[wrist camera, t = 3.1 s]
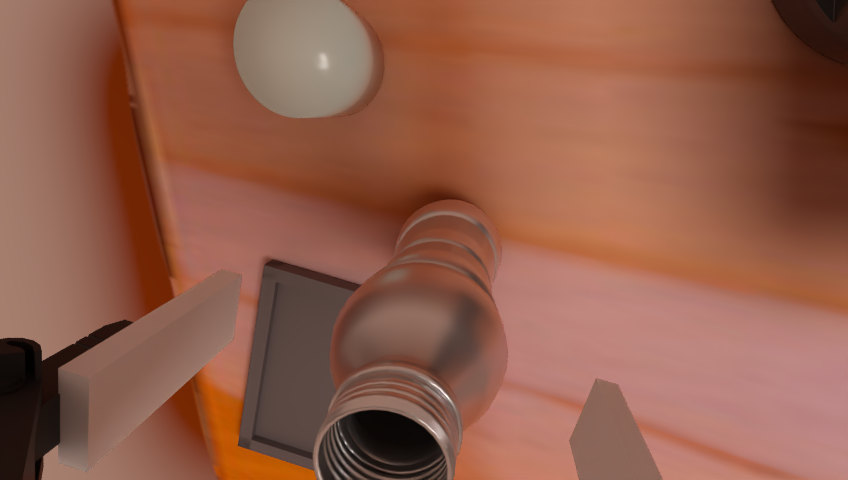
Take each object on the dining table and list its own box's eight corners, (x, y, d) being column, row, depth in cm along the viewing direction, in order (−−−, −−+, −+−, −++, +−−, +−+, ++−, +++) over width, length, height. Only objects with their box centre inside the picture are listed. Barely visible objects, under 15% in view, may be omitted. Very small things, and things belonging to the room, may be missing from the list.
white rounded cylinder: (292, -5, 27) (241, -35, 22) (394, 20, 27) (368, -5, 21) (278, 103, 29) (226, 101, 24) (372, 127, 29) (343, 131, 23)
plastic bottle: (386, 258, 31) (220, 494, 12) (433, 172, 29) (320, 296, 10) (468, 304, 31) (429, 610, 12) (521, 222, 29) (573, 437, 10)
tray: (272, 259, 32) (264, 265, 31) (433, 306, 32) (430, 314, 30) (245, 435, 37) (237, 445, 36) (384, 480, 37) (380, 492, 35)
